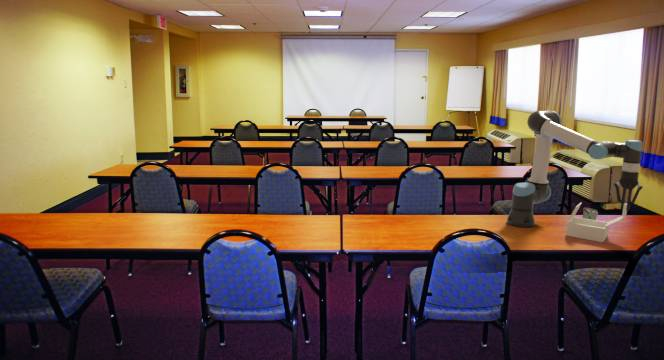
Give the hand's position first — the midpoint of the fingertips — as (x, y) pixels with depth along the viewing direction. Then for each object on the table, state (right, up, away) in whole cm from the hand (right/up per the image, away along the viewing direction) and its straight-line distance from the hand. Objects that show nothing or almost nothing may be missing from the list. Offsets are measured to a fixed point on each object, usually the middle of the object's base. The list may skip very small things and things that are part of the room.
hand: (624, 216), depth 262 cm
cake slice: (-3, -9, +29) cm, 30 cm away
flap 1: (-18, +1, +14) cm, 23 cm away
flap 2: (-3, -3, +3) cm, 5 cm away
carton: (-13, -12, +12) cm, 21 cm away
